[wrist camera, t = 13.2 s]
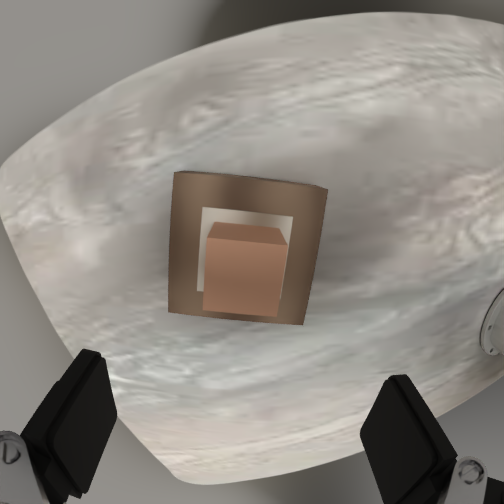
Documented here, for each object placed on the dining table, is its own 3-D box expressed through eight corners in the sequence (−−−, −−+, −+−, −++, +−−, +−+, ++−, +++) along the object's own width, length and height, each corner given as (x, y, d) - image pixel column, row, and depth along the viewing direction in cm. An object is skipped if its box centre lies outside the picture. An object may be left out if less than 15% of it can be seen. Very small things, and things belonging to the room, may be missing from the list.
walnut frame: (316, 185, 26) (328, 189, 22) (296, 305, 30) (303, 326, 26) (184, 170, 26) (173, 172, 22) (177, 293, 29) (167, 313, 25)
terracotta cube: (279, 228, 23) (288, 245, 18) (270, 287, 25) (276, 316, 20) (214, 221, 23) (206, 237, 18) (210, 281, 24) (202, 310, 20)
